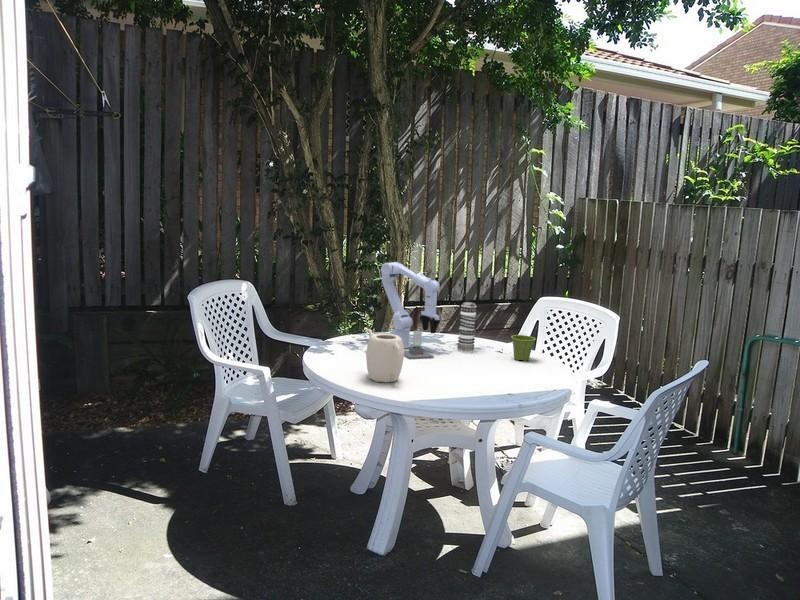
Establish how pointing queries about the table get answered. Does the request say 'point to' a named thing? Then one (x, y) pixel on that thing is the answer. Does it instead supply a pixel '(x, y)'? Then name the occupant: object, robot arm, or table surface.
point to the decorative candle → (467, 327)
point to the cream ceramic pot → (384, 357)
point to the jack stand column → (417, 338)
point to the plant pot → (522, 346)
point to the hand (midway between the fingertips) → (429, 331)
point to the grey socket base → (417, 353)
